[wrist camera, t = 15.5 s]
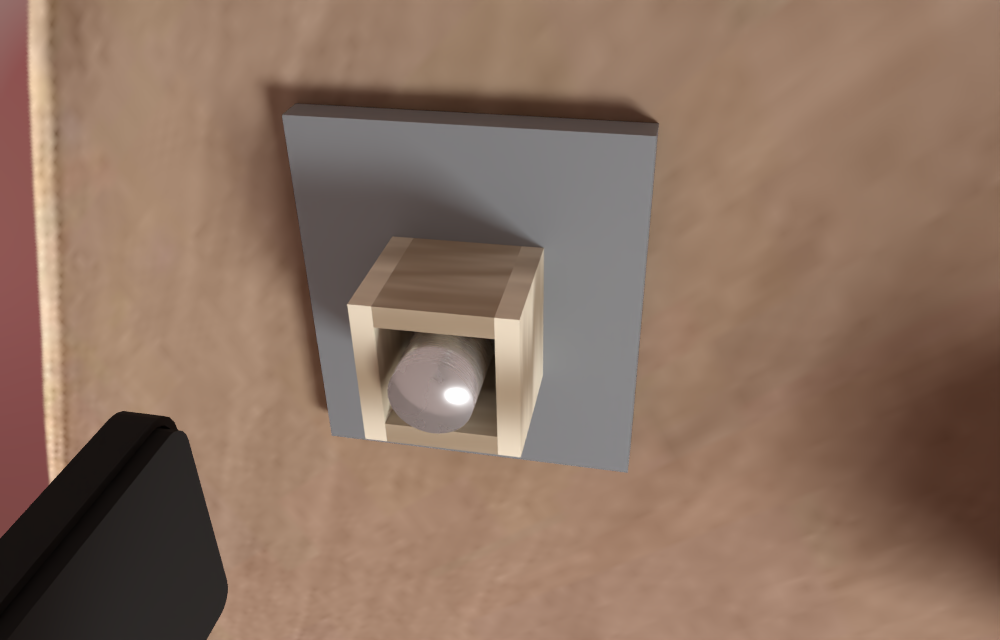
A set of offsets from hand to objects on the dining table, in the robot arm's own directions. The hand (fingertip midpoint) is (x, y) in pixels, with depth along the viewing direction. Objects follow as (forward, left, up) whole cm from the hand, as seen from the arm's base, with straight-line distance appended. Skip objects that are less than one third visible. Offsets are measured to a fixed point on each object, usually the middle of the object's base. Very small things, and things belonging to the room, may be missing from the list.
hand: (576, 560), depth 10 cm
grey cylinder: (+14, -8, -27) cm, 31 cm away
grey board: (+14, -8, -28) cm, 33 cm away
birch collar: (+14, -8, -27) cm, 31 cm away
